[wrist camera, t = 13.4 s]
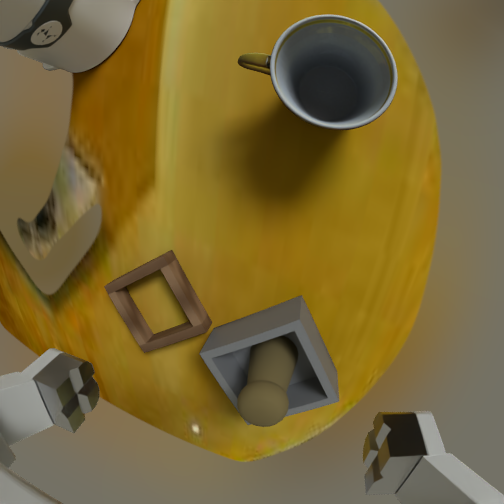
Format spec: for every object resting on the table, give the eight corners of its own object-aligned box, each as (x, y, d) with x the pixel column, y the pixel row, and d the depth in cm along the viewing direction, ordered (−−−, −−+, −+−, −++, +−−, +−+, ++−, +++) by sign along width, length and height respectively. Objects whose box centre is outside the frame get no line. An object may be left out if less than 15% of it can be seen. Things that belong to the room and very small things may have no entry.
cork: (299, 373, 39) (292, 435, 28) (252, 372, 40) (234, 433, 29) (297, 333, 37) (290, 393, 27) (247, 333, 38) (225, 391, 28)
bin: (213, 328, 40) (199, 353, 34) (301, 295, 37) (299, 319, 31) (255, 395, 42) (247, 424, 36) (336, 371, 39) (339, 401, 33)
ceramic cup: (378, 63, 28) (402, 30, 19) (366, 148, 31) (389, 143, 22) (261, 42, 30) (243, 3, 20) (246, 125, 33) (222, 112, 23)
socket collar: (114, 279, 41) (104, 286, 38) (171, 249, 38) (163, 255, 36) (151, 343, 43) (144, 352, 40) (212, 322, 40) (206, 332, 37)
